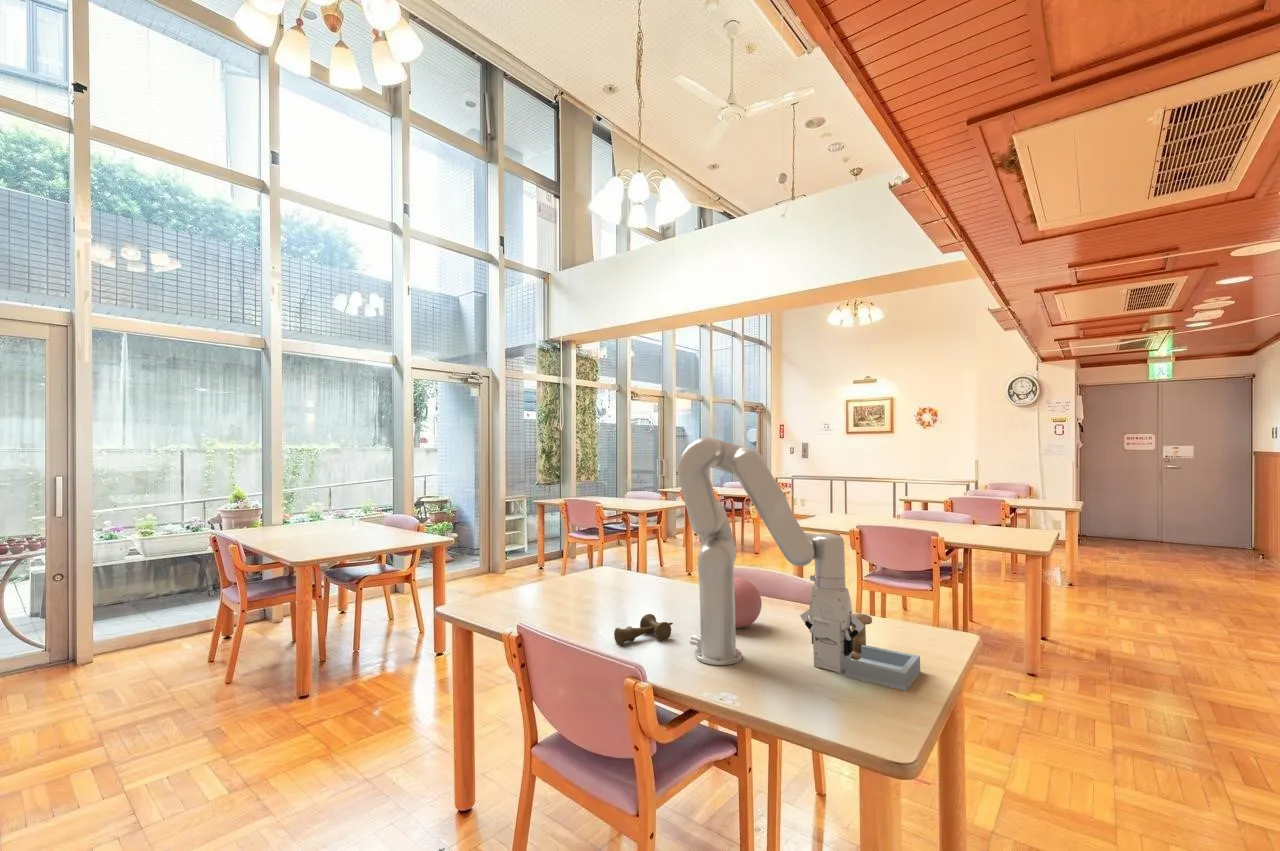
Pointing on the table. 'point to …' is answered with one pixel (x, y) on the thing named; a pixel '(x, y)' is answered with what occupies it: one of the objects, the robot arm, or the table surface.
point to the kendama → (643, 630)
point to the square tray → (884, 667)
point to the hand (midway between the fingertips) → (832, 650)
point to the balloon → (746, 603)
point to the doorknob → (859, 635)
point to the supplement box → (829, 645)
